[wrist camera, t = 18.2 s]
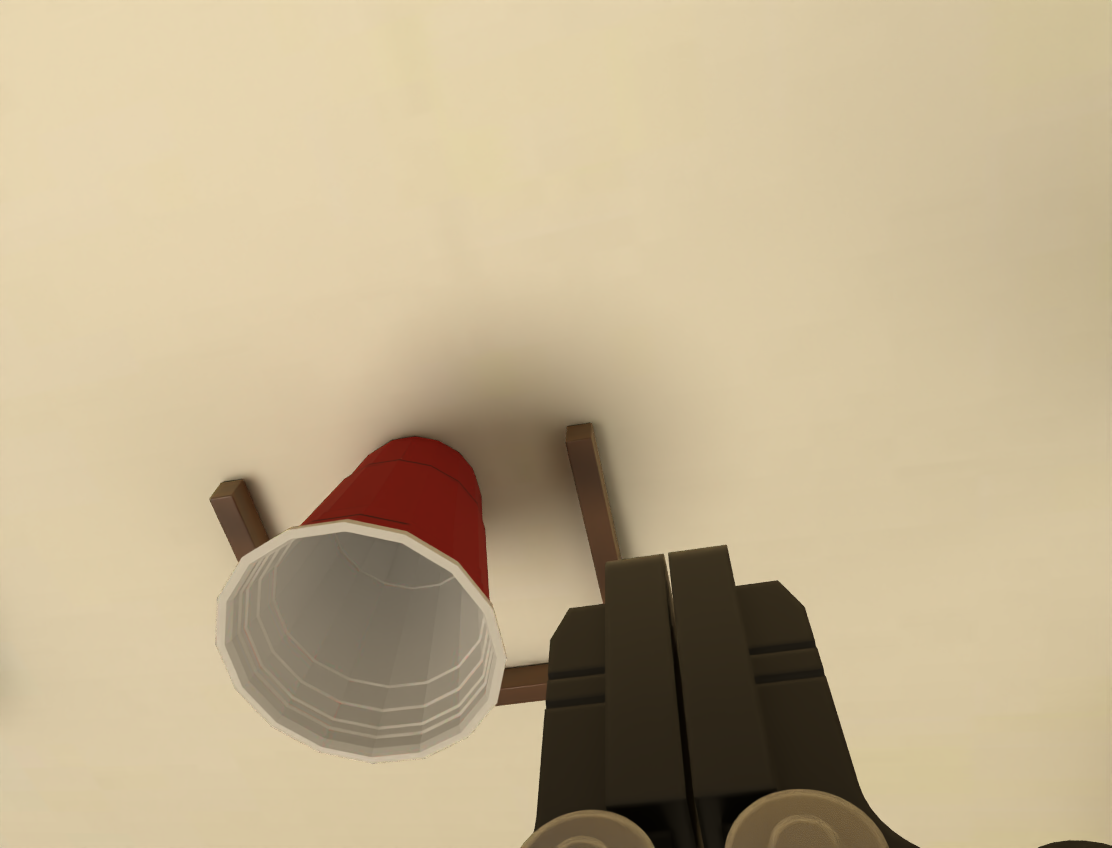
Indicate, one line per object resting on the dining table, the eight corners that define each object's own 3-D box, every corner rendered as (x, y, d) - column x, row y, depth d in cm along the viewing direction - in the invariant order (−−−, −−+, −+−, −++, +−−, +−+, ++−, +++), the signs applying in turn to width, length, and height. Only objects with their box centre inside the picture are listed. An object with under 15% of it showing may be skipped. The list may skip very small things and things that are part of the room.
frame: (220, 482, 43) (208, 499, 42) (592, 422, 40) (591, 437, 39) (322, 707, 50) (314, 728, 48) (644, 668, 47) (646, 688, 46)
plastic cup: (471, 348, 39) (421, 495, 28) (565, 536, 43) (553, 723, 33) (263, 427, 41) (146, 590, 31) (373, 597, 46) (304, 791, 35)
